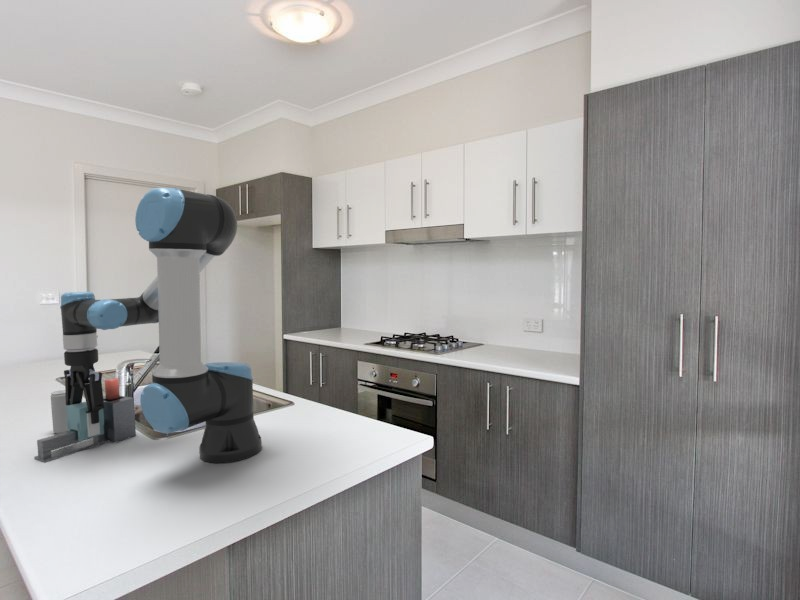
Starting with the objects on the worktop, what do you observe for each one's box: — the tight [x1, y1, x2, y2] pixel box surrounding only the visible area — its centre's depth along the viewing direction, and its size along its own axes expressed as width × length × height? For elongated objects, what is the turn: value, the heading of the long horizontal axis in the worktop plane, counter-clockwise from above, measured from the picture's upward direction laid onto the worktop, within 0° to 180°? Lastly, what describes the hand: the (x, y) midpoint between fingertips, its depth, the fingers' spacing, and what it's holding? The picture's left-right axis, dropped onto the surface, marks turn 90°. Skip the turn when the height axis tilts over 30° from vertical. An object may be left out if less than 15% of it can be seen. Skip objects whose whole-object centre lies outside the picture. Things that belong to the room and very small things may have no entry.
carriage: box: [66, 401, 104, 442], centre depth 125 cm, size 6×6×9 cm
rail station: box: [33, 395, 137, 463], centre depth 125 cm, size 10×22×11 cm, turn 153°
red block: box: [104, 377, 121, 399], centre depth 131 cm, size 3×3×5 cm
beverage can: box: [50, 389, 69, 435], centre depth 137 cm, size 5×5×12 cm
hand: (86, 433), depth 125 cm, fingers closed on carriage, 6 cm apart
